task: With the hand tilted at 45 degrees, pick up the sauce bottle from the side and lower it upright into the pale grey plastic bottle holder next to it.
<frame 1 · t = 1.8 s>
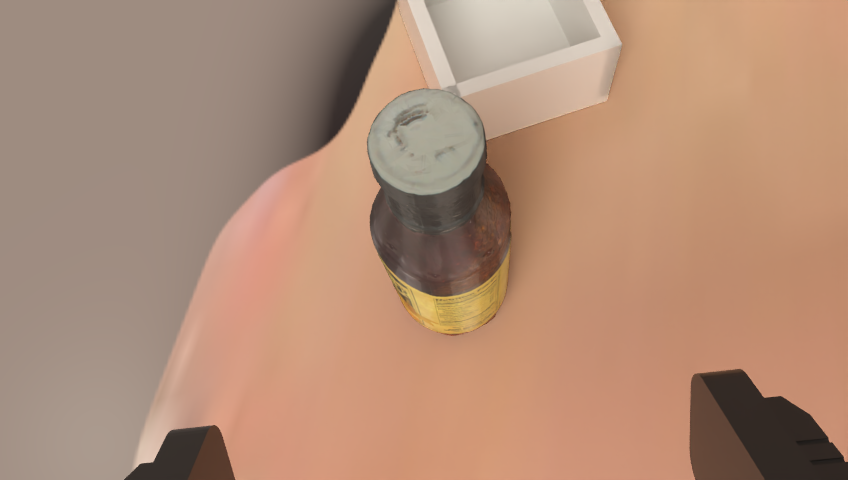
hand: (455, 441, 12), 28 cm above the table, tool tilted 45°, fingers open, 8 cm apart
sauce bottle: (454, 292, 43), on the table
bottle holder: (499, 55, 48), on the table
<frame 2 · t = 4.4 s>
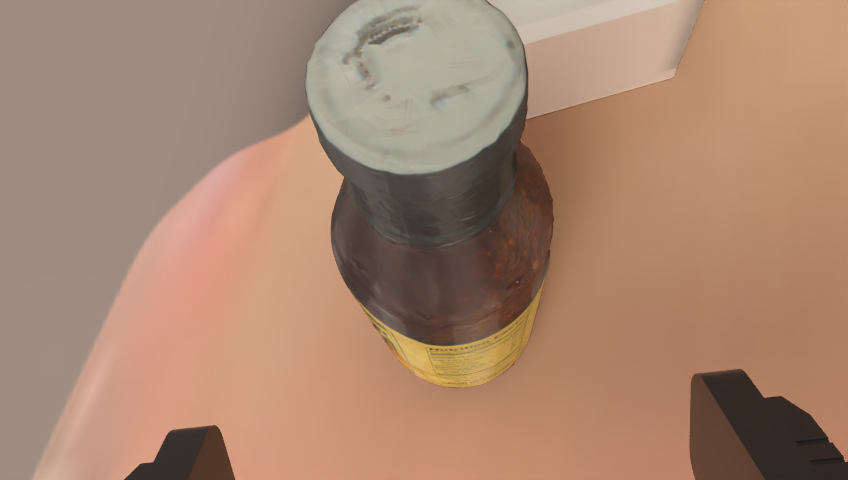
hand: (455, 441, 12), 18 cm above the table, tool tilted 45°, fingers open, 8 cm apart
sauce bottle: (459, 327, 32), on the table
bottle holder: (531, 14, 37), on the table
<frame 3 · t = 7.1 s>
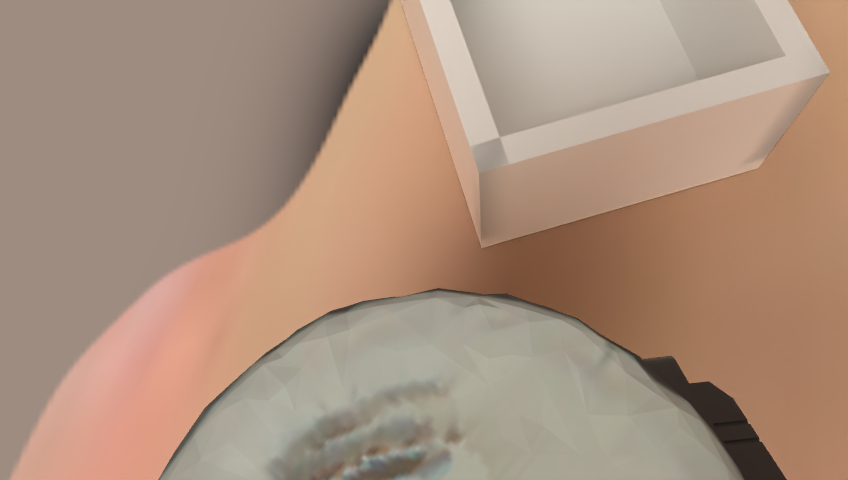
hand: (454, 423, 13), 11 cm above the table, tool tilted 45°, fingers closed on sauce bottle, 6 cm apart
bottle holder: (567, 79, 28), on the table
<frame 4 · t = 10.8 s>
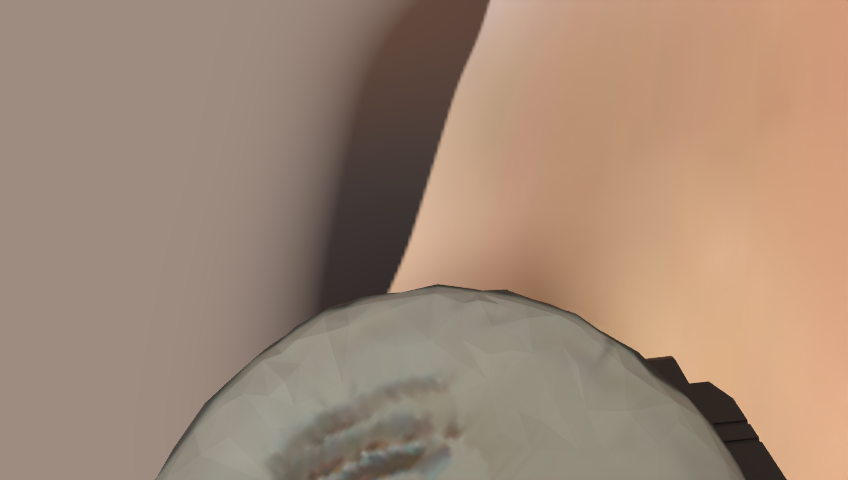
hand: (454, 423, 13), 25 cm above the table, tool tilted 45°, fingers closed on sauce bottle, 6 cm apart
when the fingers open (13 cm above the table, at t = 14.4 s): sauce bottle stays where it is, resting on bottle holder.
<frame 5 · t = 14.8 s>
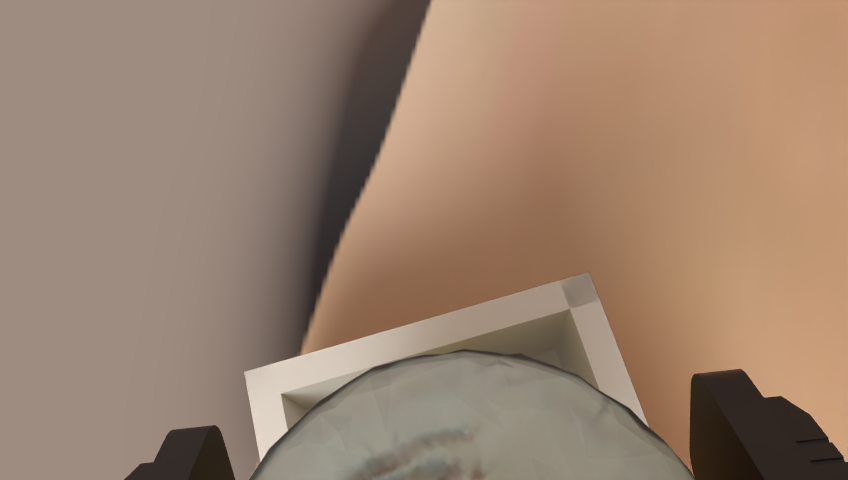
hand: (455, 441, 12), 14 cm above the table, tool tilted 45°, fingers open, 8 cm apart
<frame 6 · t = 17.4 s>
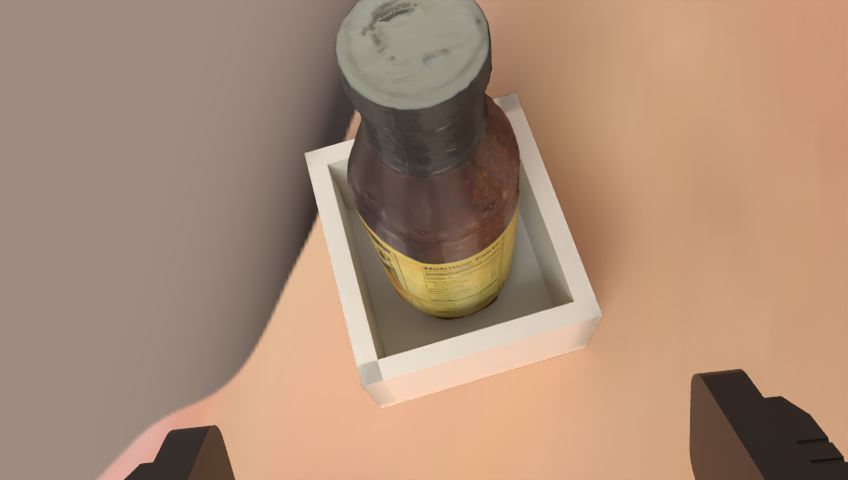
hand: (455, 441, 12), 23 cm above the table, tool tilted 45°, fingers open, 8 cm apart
sauce bottle: (451, 271, 37), point 1 cm above the table, touching bottle holder
bottle holder: (451, 272, 38), on the table
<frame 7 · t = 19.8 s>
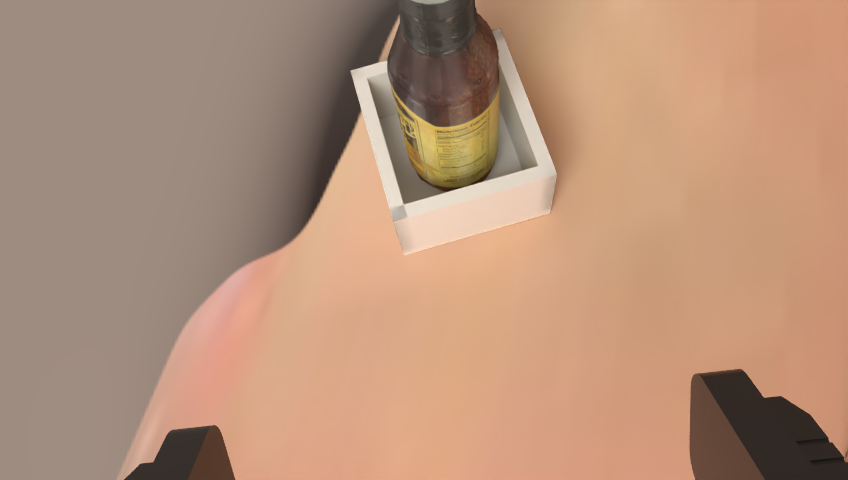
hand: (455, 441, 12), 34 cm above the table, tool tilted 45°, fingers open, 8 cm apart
sauce bottle: (454, 161, 51), point 1 cm above the table, touching bottle holder
bottle holder: (453, 163, 52), on the table
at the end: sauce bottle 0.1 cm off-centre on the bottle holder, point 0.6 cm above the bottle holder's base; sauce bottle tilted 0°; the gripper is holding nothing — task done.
